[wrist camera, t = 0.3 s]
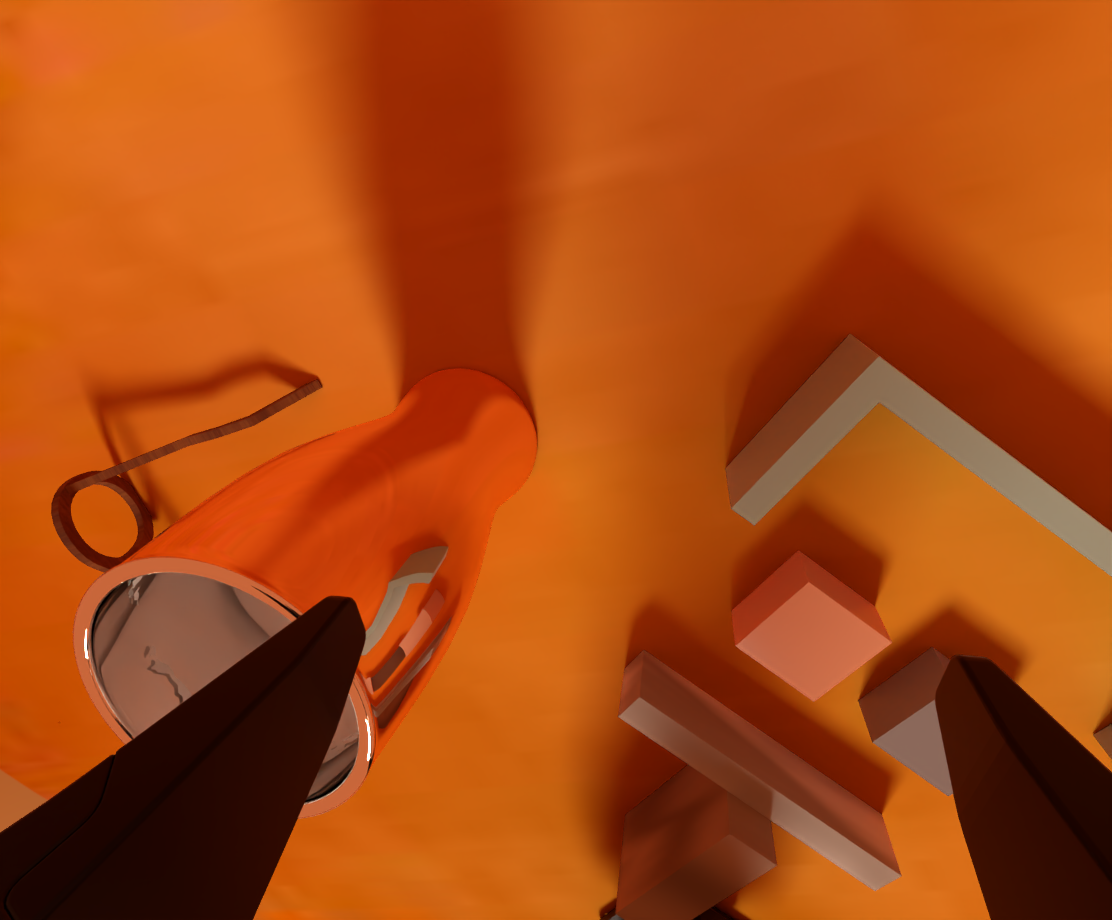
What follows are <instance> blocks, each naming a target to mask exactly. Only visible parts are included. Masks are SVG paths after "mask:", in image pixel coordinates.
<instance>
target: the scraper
mask: <svg viewBox="0 0 1112 920" xmlns="http://www.w3.org/2000/svg"><path fill="white" fill-rule="evenodd" d="M618 717H619V718H621V719H622V720H623V721H625V722H626V723H628V724H629V725H631V726H632V727H634V728H635V729H637V730H638V731H640V732H641V733H643V734H644V735H646V736H647V737H649V738H650V739H651V740H653V741H654V742H656V743H657V744H659V745H660V746H662V747H663V748H665V749H666V750H668V751H669V752H671V753H672V754H674V755H675V756H677V757H678V758H679V759H681V760H682V761H684V762H685V763H687V764H688V765H687V766H686V767H684V768H683V769H682V770H681V771H679V772H678V773H677V774H676V775H674V776H673V777H672V778H671V779H669V780H668V781H667V782H666V783H664V784H663V785H662V786H661V787H659V788H658V789H657V790H656V791H654V792H653V793H652V794H651V795H649V796H648V797H647V798H646V799H644V800H643V801H642V802H641V803H639V804H638V805H637V806H636V807H634V808H633V809H632V810H631V811H629V812H628V813H627V814H626V815H625V822H624V832H623V842H622V852H621V862H620V872H619V882H618V892H617V902H616V912H615V914H616V915H618V916H619V917H621V918H623V919H624V920H692V919H694V918H695V917H697V916H698V915H700V914H702V913H703V912H705V911H706V910H708V909H709V908H711V907H713V906H714V905H716V904H717V903H719V902H720V901H722V900H724V899H725V898H727V897H728V896H730V895H732V894H733V893H735V892H736V891H738V890H739V889H741V888H743V887H744V886H746V885H747V884H749V883H750V882H752V881H754V880H755V879H757V878H758V877H760V876H761V875H763V874H765V873H766V872H768V871H769V870H771V869H772V868H774V867H776V866H777V862H776V855H775V848H774V841H773V833H772V826H771V821H772V822H774V823H775V824H777V825H778V826H780V827H781V828H783V829H784V830H786V831H787V832H789V833H790V834H791V835H793V836H794V837H796V838H797V839H799V840H800V841H802V842H803V843H805V844H806V845H808V846H809V847H811V848H812V849H814V850H815V851H817V852H818V853H819V854H821V855H822V856H824V857H825V858H827V859H828V860H830V861H831V862H833V863H834V864H836V865H837V866H839V867H840V868H842V869H843V870H845V871H846V872H847V873H849V874H850V875H852V876H853V877H855V878H856V879H858V880H859V881H861V882H862V883H864V884H865V885H867V886H868V887H870V888H871V889H873V890H874V891H876V890H878V889H879V888H881V887H883V886H885V885H887V884H888V883H890V882H892V881H894V880H896V879H897V878H899V877H901V873H900V870H899V866H898V863H897V860H896V857H895V854H894V851H893V848H892V845H891V841H890V838H889V835H888V832H887V829H886V826H885V823H884V820H883V817H882V814H880V813H879V812H877V811H876V810H875V809H873V808H872V807H870V806H869V805H867V804H866V803H865V802H863V801H862V800H860V799H859V798H857V797H856V796H854V795H853V794H852V793H850V792H849V791H847V790H846V789H844V788H843V787H841V786H840V785H839V784H837V783H836V782H834V781H833V780H831V779H830V778H828V777H827V776H826V775H824V774H823V773H821V772H820V771H818V770H817V769H815V768H814V767H813V766H811V765H810V764H808V763H807V762H805V761H804V760H802V759H801V758H800V757H798V756H797V755H795V754H794V753H792V752H791V751H789V750H788V749H787V748H785V747H784V746H782V745H781V744H779V743H778V742H776V741H775V740H774V739H772V738H771V737H769V736H768V735H766V734H765V733H764V732H762V731H761V730H759V729H758V728H756V727H755V726H753V725H752V724H751V723H749V722H748V721H746V720H745V719H743V718H742V717H740V716H739V715H738V714H736V713H735V712H733V711H732V710H730V709H729V708H727V707H726V706H725V705H723V704H722V703H720V702H719V701H717V700H716V699H714V698H713V697H712V696H710V695H709V694H707V693H706V692H704V691H703V690H701V689H700V688H699V687H697V686H696V685H694V684H693V683H691V682H690V681H688V680H687V679H686V678H684V677H683V676H681V675H680V674H678V673H677V672H675V671H674V670H673V669H671V668H670V667H668V666H667V665H665V664H664V663H662V662H661V661H660V660H658V659H657V658H655V657H654V656H652V655H651V654H650V653H648V652H647V651H645V650H643V651H642V652H641V653H640V654H639V655H638V656H637V657H636V658H635V659H634V660H633V661H632V662H631V663H630V664H629V665H628V666H627V667H626V668H625V669H624V676H623V684H622V691H621V699H620V706H619V714H618Z"/></svg>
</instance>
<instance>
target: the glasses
mask: <svg viewBox="0 0 1112 920" xmlns="http://www.w3.org/2000/svg"><path fill="white" fill-rule="evenodd" d="M320 388H322V386H321V385H320V383H319V382H318V380H315V381H312V382H310V383H308V384H306V385H303V386H302V387H300V388H298V389H296V390H294V391H293V392H291V393H289V394H287V395H285V396H284V397H282V398H280V399H278V400H276V401H275V402H273V403H271V404H269V405H267V406H266V407H264V408H262V409H260V410H258V411H257V412H255V413H253V414H251V415H250V416H247V417H244V418H242V419H239V420H236V421H233V422H230V423H227V424H225V425H222V426H219V427H216V428H212V429H209V430H206V431H202V432H199V433H196V434H192V435H190V436H187V437H185V438H182V439H180V440H178V441H175V442H173V443H170V444H168V445H165V446H163V447H160V448H158V449H155V450H153V451H151V452H148V453H146V454H143V455H141V456H138V457H136V458H133V459H131V460H128V461H126V462H124V463H121V464H119V465H116V466H114V467H111V468H109V469H106V470H104V471H91V472H86V473H83V474H80V475H77V476H75V477H73V478H71V479H69V480H68V481H66V482H65V483H64V484H62V485H61V486H60V487H59V489H58V490H57V492H56V493H55V495H54V498H53V501H52V509H51V514H52V519H53V524H54V526H55V529H56V531H57V534H58V535H59V537H60V539H61V540H62V542H63V544H64V545H65V546H66V547H67V549H68V550H69V551H70V552H71V553H72V554H73V555H74V556H75V557H76V558H77V559H78V560H79V561H81V562H83V563H84V564H86V565H87V566H89V567H92V568H94V569H96V570H99V571H102V572H107V571H108V570H110V569H111V568H113V567H115V566H117V565H119V564H121V563H122V562H124V561H125V560H127V559H128V558H129V557H131V556H132V555H133V554H135V553H136V552H137V551H139V550H140V549H141V548H143V547H144V546H145V545H146V544H148V543H149V542H150V541H151V540H152V539H153V535H154V532H153V523H152V518H151V515H150V514H149V512H148V511H147V509H146V508H145V506H144V504H143V503H142V501H141V500H140V498H139V497H138V495H137V494H136V492H135V491H134V489H133V488H132V486H131V485H130V484H129V483H127V482H126V481H125V480H124V479H122V478H120V477H119V476H117V475H118V474H121V473H123V472H125V471H128V470H130V469H133V468H135V467H138V466H140V465H143V464H145V463H148V462H150V461H153V460H155V459H158V458H160V457H163V456H165V455H167V454H170V453H172V452H175V451H177V450H180V449H182V448H185V447H187V446H190V445H194V444H197V443H201V442H204V441H208V440H212V439H215V438H219V437H222V436H225V435H227V434H230V433H233V432H236V431H239V430H242V429H245V428H248V427H251V426H254V425H256V424H258V423H259V422H261V421H263V420H265V419H266V418H268V417H270V416H272V415H274V414H275V413H277V412H279V411H281V410H282V409H284V408H286V407H288V406H290V405H291V404H293V403H295V402H297V401H298V400H300V399H302V398H304V397H306V396H307V395H309V394H311V393H313V392H314V391H316V390H318V389H320ZM93 484H97V485H103V486H107V487H109V488H111V489H113V490H114V491H116V492H117V493H118V494H119V495H120V496H121V497H122V498H123V499H124V500H125V501H126V502H127V504H128V505H129V506H130V508H131V510H132V511H133V513H134V516H135V518H136V521H137V526H138V536H137V540H136V542H135V543H134V545H133V547H132V548H131V549H130V550H129V551H128V552H127V553H126V554H124V555H123V556H121V557H119V558H113V557H108V556H105V555H102V554H100V553H98V552H96V551H95V550H93V549H92V548H91V547H90V546H89V545H88V544H86V543H85V541H84V540H83V539H82V538H81V536H80V535H79V533H78V532H77V530H76V528H75V526H74V523H73V521H72V516H71V503H72V499H73V497H74V496H75V494H76V493H77V492H78V491H79V490H81V489H83V488H86V487H88V486H91V485H93Z"/></svg>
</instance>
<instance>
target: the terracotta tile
mask: <svg viewBox="0 0 1112 920" xmlns="http://www.w3.org/2000/svg"><path fill="white" fill-rule="evenodd" d="M731 613H732V621H733V630H734V639H735V646H736V647H737V648H739V649H740V650H742V651H743V652H744V653H746V654H747V655H749V656H750V657H751V658H753V659H754V660H756V661H757V662H759V663H760V664H761V665H763V666H764V667H766V668H767V669H768V670H770V671H771V672H773V673H774V674H775V675H777V676H778V677H780V678H781V679H782V680H784V681H785V682H787V683H788V684H790V685H791V686H792V687H794V688H795V689H797V690H798V691H799V692H801V693H802V694H804V695H805V696H806V697H808V698H809V699H811V700H812V701H813V702H814V701H816V700H817V699H818V698H820V697H821V696H822V695H823V694H825V693H826V692H827V691H829V690H830V689H831V688H833V687H834V686H835V685H837V684H838V683H839V682H841V681H842V680H843V679H845V678H846V677H847V676H849V675H850V674H851V673H853V672H854V671H855V670H857V669H858V668H859V667H861V666H862V665H863V664H865V663H866V662H867V661H869V660H870V659H871V658H872V657H874V656H875V655H876V654H878V653H879V652H880V651H882V650H883V649H884V648H886V647H887V646H888V645H890V644H891V643H892V641H891V639H890V637H889V635H888V633H887V631H886V629H885V626H884V624H883V622H882V620H881V618H880V616H879V614H878V612H877V610H876V607H875V606H874V605H872V604H871V603H870V602H868V601H867V600H866V599H864V598H863V597H862V596H860V595H859V594H857V593H856V592H855V591H853V590H852V589H851V588H849V587H848V586H847V585H845V584H844V583H842V582H841V581H840V580H838V579H837V578H836V577H834V576H833V575H832V574H830V573H829V572H828V571H826V570H825V569H823V568H822V567H821V566H819V565H818V564H817V563H815V562H814V561H813V560H811V559H810V558H808V557H807V556H806V555H804V554H803V553H802V552H800V551H799V550H798V551H797V552H796V553H795V554H793V555H792V556H791V557H790V558H789V559H788V560H787V561H786V562H785V563H784V564H782V565H781V566H780V567H779V568H778V569H777V570H776V571H775V572H774V573H773V574H771V575H770V576H769V577H768V578H767V579H766V580H765V581H764V582H763V583H762V584H760V585H759V586H758V587H757V588H756V589H755V590H754V591H753V592H752V593H751V594H749V595H748V596H747V597H746V598H745V599H744V600H743V601H742V602H741V603H740V604H738V605H737V606H736V607H735V608H734V609H733V610H732V611H731Z"/></svg>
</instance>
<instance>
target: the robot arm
mask: <svg viewBox="0 0 1112 920" xmlns="http://www.w3.org/2000/svg"><path fill="white" fill-rule="evenodd" d="M365 640H366V630H365V626H364V624H363V621H362V618H361V615H360V612H359V610H358V607H357V604H356V602H355V600H354V599H353V598H351V597H345V596H334V595H333V596H328V597H326V598H324V599H322V600H321V601H320V602H318V603H317V604H316V605H314V606H313V607H312V608H310V609H309V610H308V611H306V612H305V613H303V614H302V615H301V616H299V617H298V618H297V619H295V620H294V621H293V622H291V623H290V624H289V625H287V626H286V627H284V628H283V629H282V630H280V631H279V632H278V633H276V634H275V635H274V636H272V637H271V638H269V639H268V640H267V641H265V642H264V643H263V644H261V645H260V646H259V647H257V648H256V649H255V650H253V651H252V652H250V653H249V654H248V655H246V656H245V657H244V658H242V659H241V660H240V661H238V662H237V663H236V664H234V665H233V666H231V667H230V668H229V669H227V670H226V671H225V672H223V673H222V674H221V675H219V676H218V677H216V678H215V679H214V680H212V681H211V682H210V683H208V684H207V685H206V686H204V687H203V688H202V689H200V690H199V691H197V692H196V693H195V694H193V695H192V696H191V697H189V698H188V699H187V700H185V701H184V702H183V703H181V704H180V705H178V706H177V707H176V708H174V709H173V710H172V711H170V712H169V713H168V714H166V715H165V716H164V717H162V718H161V719H159V720H158V721H157V722H155V723H154V724H153V725H151V726H150V727H149V728H147V729H146V730H144V731H143V732H142V733H140V734H139V735H138V736H136V737H135V738H134V739H132V740H131V741H130V742H128V743H127V744H125V745H124V746H123V747H121V748H120V749H119V750H118V751H117V752H116V754H115V755H110V756H109V757H108V758H106V759H105V760H103V761H102V762H101V763H99V764H98V765H97V766H95V767H94V768H93V769H91V770H90V771H88V772H87V773H86V774H84V775H83V776H82V777H80V778H79V779H77V780H76V781H75V782H73V783H72V784H70V785H69V786H68V787H66V788H65V789H63V790H62V791H61V792H59V793H58V794H56V795H55V796H53V797H52V798H51V799H49V800H48V801H46V802H45V803H44V804H42V805H41V806H39V807H38V808H36V809H35V810H33V811H32V812H30V813H29V814H27V815H26V816H24V817H23V818H21V819H20V820H18V821H17V822H15V823H14V824H12V825H11V826H9V827H8V828H6V829H5V830H3V831H2V832H0V920H253V918H254V916H255V914H256V911H257V909H258V907H259V905H260V902H261V900H262V898H263V895H264V893H265V891H266V889H267V886H268V884H269V882H270V880H271V877H272V875H273V873H274V871H275V868H276V866H277V864H278V862H279V859H280V857H281V855H282V853H283V850H284V848H285V846H286V844H287V841H288V839H289V837H290V835H291V832H292V830H293V828H294V826H295V823H296V821H297V819H298V817H299V814H300V812H301V810H302V808H303V805H304V803H305V801H306V799H307V796H308V794H309V792H310V790H311V787H312V785H313V783H314V781H315V778H316V776H317V774H318V772H319V769H320V767H321V765H322V763H323V760H324V758H325V756H326V754H327V751H328V749H329V747H330V744H331V742H332V740H333V737H334V735H335V732H336V730H337V727H338V724H339V721H340V719H341V716H342V713H343V710H344V706H345V703H346V700H347V697H348V694H349V691H350V688H351V685H352V682H353V679H354V676H355V673H356V670H357V667H358V664H359V660H360V657H361V654H362V651H363V648H364V645H365ZM935 706H936V711H937V716H938V721H939V726H940V731H941V736H942V741H943V746H944V751H945V756H946V760H947V765H948V770H949V775H950V780H951V785H952V790H953V795H954V800H955V804H956V808H957V813H958V817H959V820H960V824H961V827H962V831H963V834H964V837H965V840H966V844H967V847H968V850H969V853H970V856H971V859H972V862H973V865H974V868H975V872H976V875H977V878H978V881H979V884H980V887H981V890H982V893H983V897H984V900H985V903H986V906H987V909H988V912H989V915H990V918H991V920H1112V772H1111V771H1110V770H1109V769H1108V768H1107V767H1106V766H1104V765H1103V764H1102V763H1101V762H1100V761H1099V760H1098V759H1097V758H1096V757H1095V756H1094V755H1093V754H1092V753H1091V752H1089V751H1088V750H1087V749H1086V748H1085V747H1084V746H1083V745H1082V744H1081V743H1080V742H1079V741H1078V740H1077V739H1075V738H1074V737H1073V736H1072V735H1071V734H1070V733H1069V732H1068V731H1067V730H1066V729H1065V728H1064V727H1063V726H1062V725H1060V724H1059V723H1058V722H1057V721H1056V720H1055V719H1054V718H1053V717H1052V716H1051V715H1050V714H1049V713H1048V712H1047V711H1045V710H1044V709H1043V708H1042V707H1041V706H1040V705H1039V704H1038V703H1037V702H1036V701H1035V700H1034V699H1033V698H1032V697H1030V696H1029V695H1028V694H1027V693H1026V692H1025V691H1024V690H1023V689H1022V688H1021V687H1020V686H1019V685H1018V684H1017V683H1015V682H1014V681H1013V680H1012V679H1011V678H1010V677H1009V676H1008V675H1007V674H1006V673H1005V672H1004V671H1003V670H1002V669H1000V668H999V667H998V666H997V665H996V664H995V663H994V662H993V661H991V660H990V659H988V658H985V657H981V656H971V655H960V654H959V655H955V656H953V657H952V658H951V659H950V661H949V663H948V665H947V667H946V669H945V671H944V673H943V676H942V678H941V680H940V682H939V684H938V686H937V689H936V693H935ZM615 912H616V908H615V909H614V910H612V911H611V912H609V913H608V914H607V915H605V916H604V917H602V918H601V919H600V920H624V919H623V918H621V917H619V916H618V915H616V914H615ZM692 920H733V919H731V918H730V917H728V916H727V915H725V914H724V913H722V912H721V911H719V910H718V909H716V908H715V907H711V908H709V909H708V910H706V911H705V912H703V913H702V914H700V915H698V916H697V917H695V918H694V919H692Z"/></svg>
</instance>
